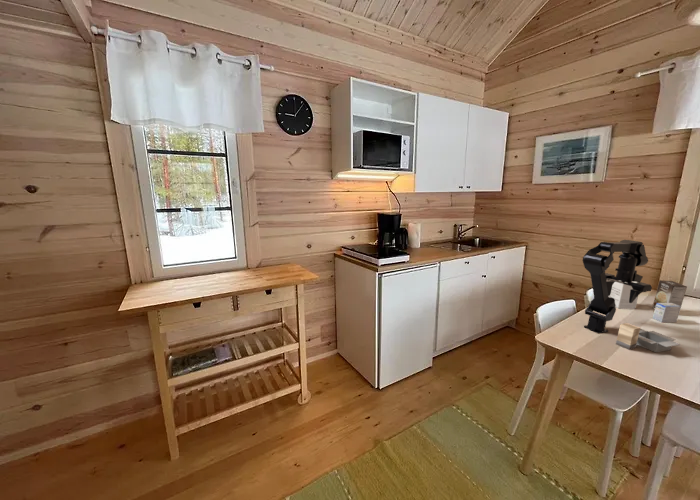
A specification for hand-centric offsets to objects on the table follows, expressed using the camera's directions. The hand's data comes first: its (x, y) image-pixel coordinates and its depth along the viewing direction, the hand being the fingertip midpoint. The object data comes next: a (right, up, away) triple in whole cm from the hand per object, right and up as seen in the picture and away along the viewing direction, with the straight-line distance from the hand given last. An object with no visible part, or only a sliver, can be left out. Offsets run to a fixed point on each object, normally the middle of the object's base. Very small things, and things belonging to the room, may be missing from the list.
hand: (619, 299), depth 137 cm
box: (-13, -17, -16) cm, 27 cm away
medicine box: (+30, -12, +8) cm, 34 cm away
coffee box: (+43, -10, +19) cm, 48 cm away
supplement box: (+25, -8, +26) cm, 37 cm away
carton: (-2, -17, -16) cm, 23 cm away
